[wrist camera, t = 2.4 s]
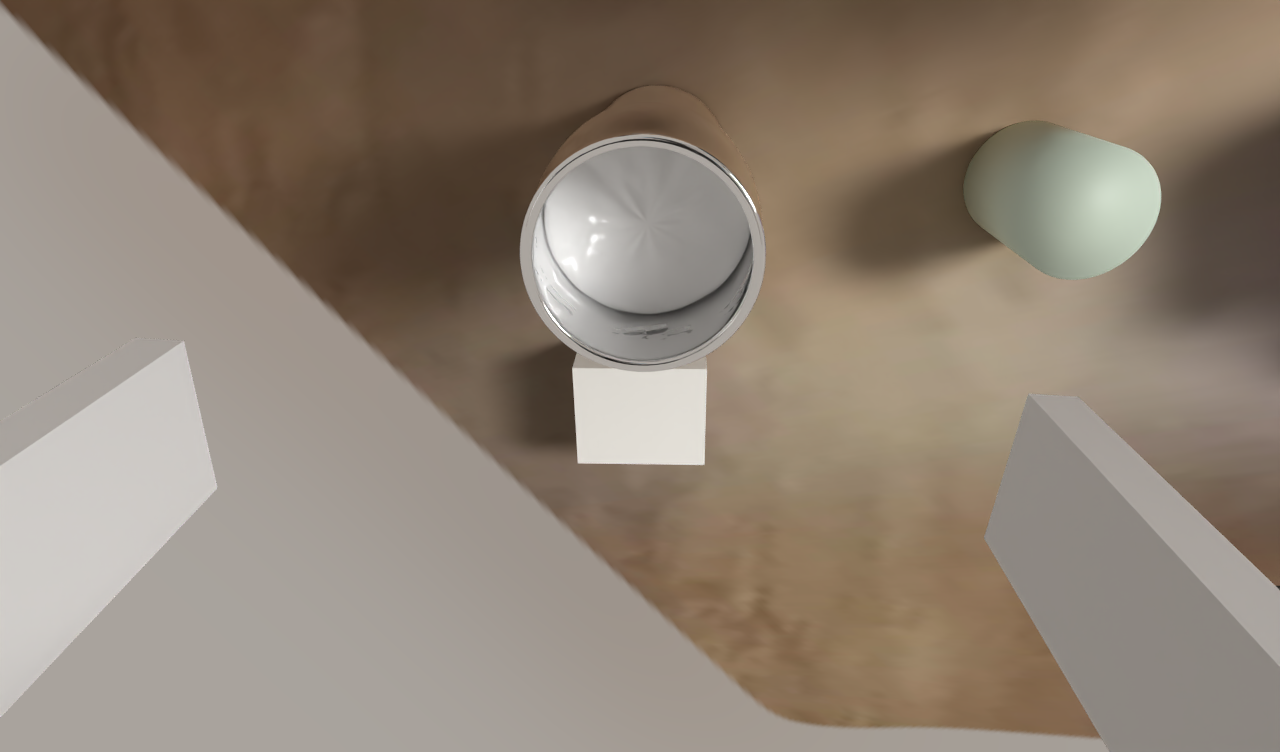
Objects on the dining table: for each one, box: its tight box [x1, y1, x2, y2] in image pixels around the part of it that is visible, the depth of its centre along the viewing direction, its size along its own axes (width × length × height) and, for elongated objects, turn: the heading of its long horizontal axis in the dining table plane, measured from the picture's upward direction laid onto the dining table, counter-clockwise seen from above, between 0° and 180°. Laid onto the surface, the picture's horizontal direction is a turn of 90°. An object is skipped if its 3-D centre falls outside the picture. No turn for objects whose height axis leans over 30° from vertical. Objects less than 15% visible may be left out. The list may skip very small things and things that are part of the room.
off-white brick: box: [572, 353, 707, 465], centre depth 37 cm, size 6×5×4 cm
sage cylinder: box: [963, 121, 1161, 280], centre depth 31 cm, size 5×5×6 cm
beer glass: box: [520, 85, 766, 372], centre depth 27 cm, size 7×7×15 cm
